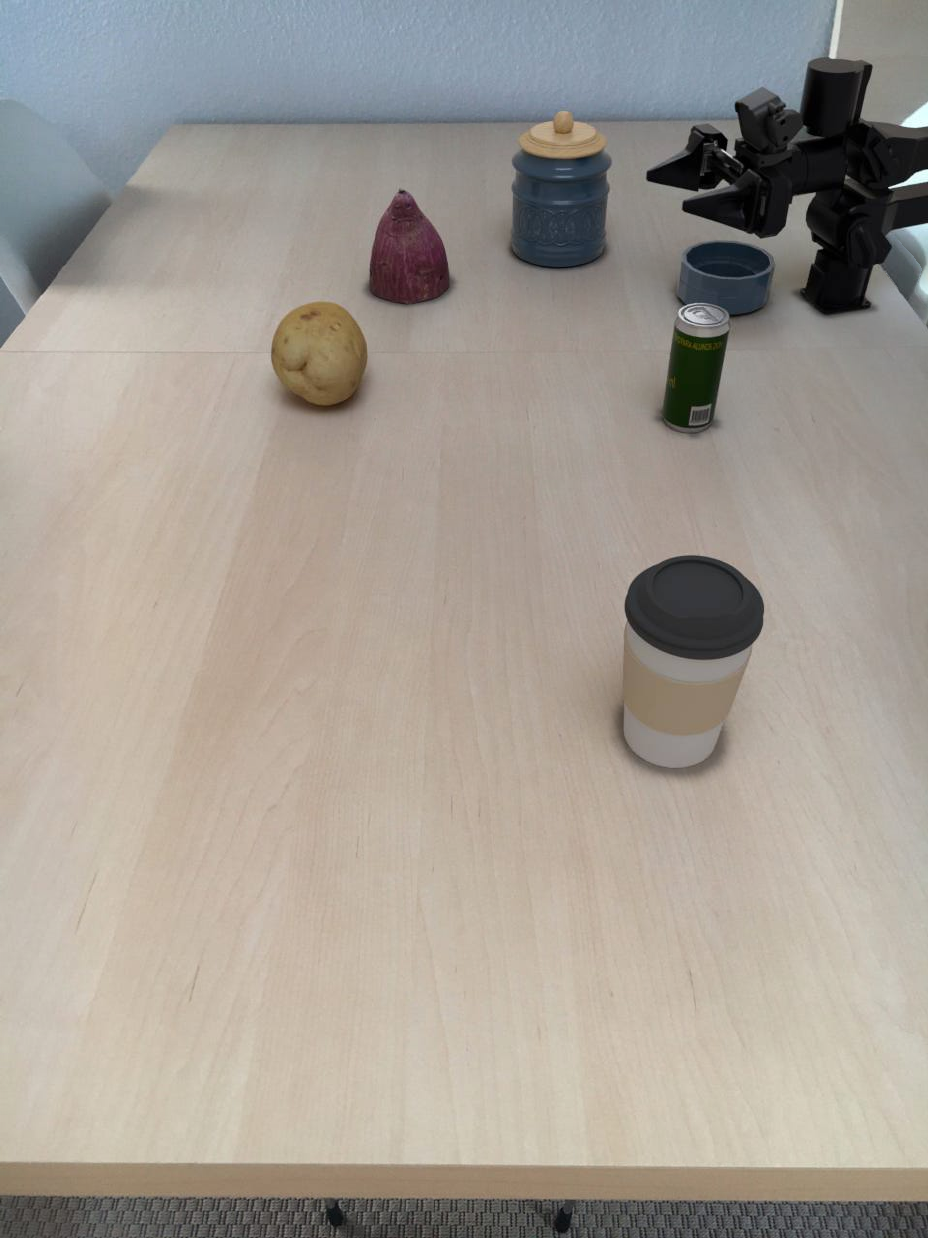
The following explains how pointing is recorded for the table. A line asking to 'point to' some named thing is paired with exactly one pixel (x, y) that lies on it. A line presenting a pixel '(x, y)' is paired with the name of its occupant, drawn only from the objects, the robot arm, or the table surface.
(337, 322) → the potato
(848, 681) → the table surface
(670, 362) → the beer can
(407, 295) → the vegetable
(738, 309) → the bowl
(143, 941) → the table surface
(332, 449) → the table surface
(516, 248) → the canister
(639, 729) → the coffee cup
